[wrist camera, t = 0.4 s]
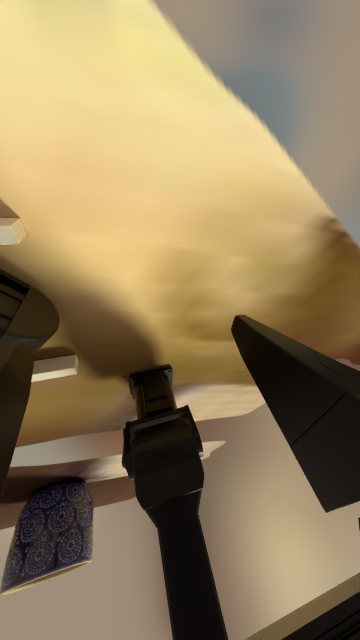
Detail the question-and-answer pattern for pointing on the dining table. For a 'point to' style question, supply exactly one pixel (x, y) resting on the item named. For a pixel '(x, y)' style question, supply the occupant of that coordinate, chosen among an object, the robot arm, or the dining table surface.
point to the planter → (50, 536)
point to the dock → (14, 233)
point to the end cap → (25, 314)
